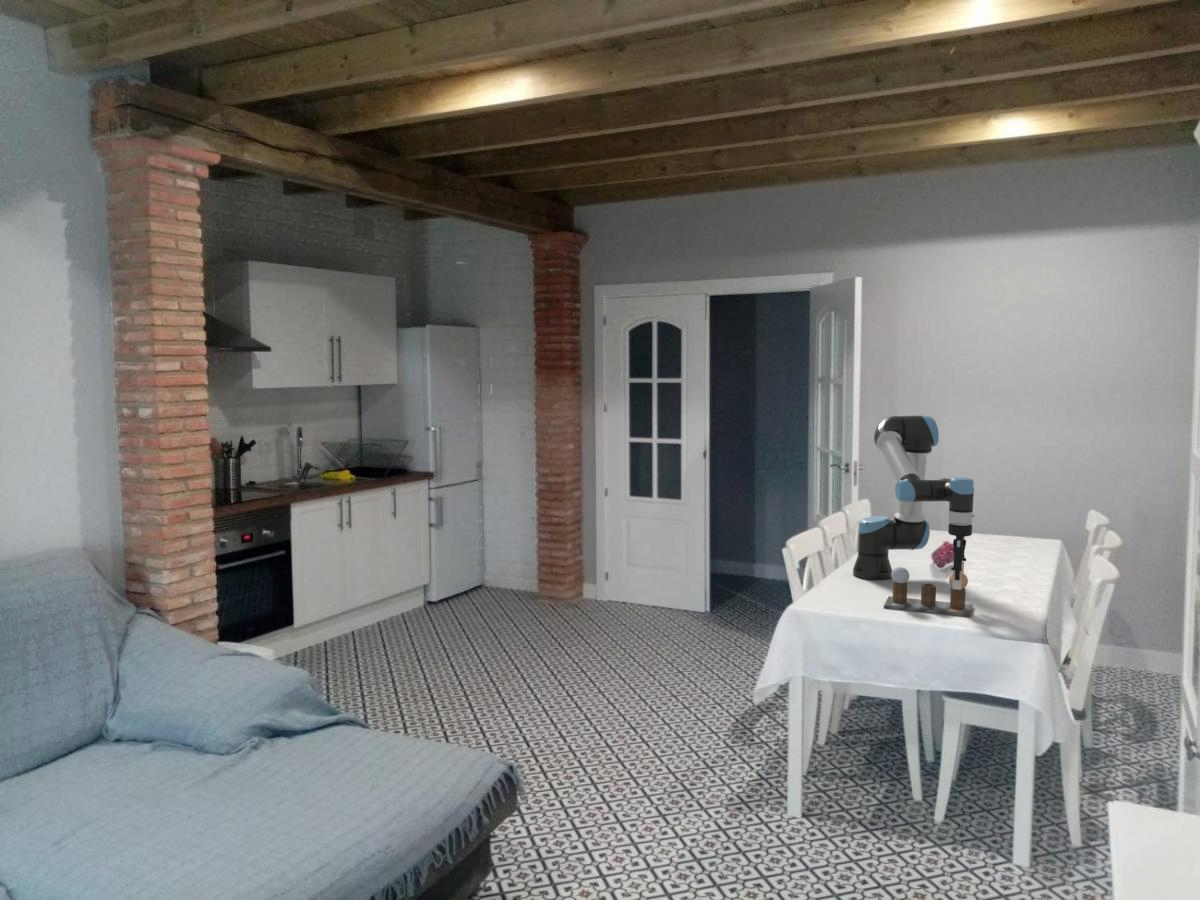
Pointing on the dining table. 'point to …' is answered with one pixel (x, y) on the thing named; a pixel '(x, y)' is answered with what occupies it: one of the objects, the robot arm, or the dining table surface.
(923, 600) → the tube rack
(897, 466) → the robot arm
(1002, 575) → the dining table surface
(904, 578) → the ball grey
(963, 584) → the ball terracotta
